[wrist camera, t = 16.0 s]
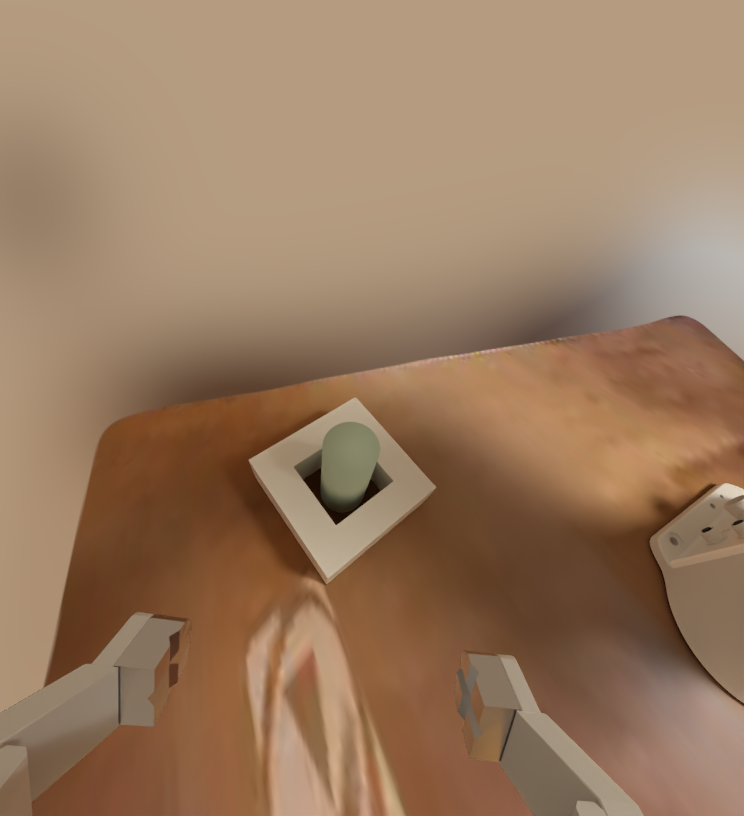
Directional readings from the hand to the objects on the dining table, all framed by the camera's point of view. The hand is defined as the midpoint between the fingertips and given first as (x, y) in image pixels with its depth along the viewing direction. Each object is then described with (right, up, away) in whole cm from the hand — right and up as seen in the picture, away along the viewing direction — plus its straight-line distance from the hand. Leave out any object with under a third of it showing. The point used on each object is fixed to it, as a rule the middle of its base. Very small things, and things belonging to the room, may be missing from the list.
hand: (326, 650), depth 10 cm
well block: (-2, -1, +24) cm, 24 cm away
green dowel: (-2, -1, +24) cm, 24 cm away
